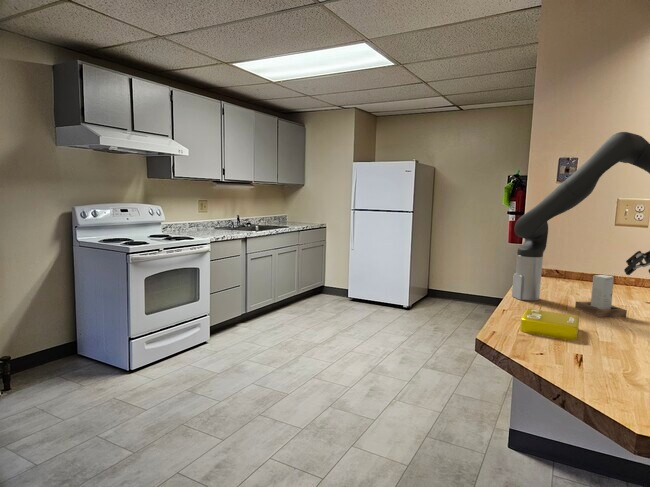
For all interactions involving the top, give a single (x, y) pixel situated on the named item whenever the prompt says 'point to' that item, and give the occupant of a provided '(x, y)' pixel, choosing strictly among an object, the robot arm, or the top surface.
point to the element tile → (550, 324)
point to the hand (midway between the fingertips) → (638, 272)
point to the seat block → (601, 310)
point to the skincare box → (602, 291)
